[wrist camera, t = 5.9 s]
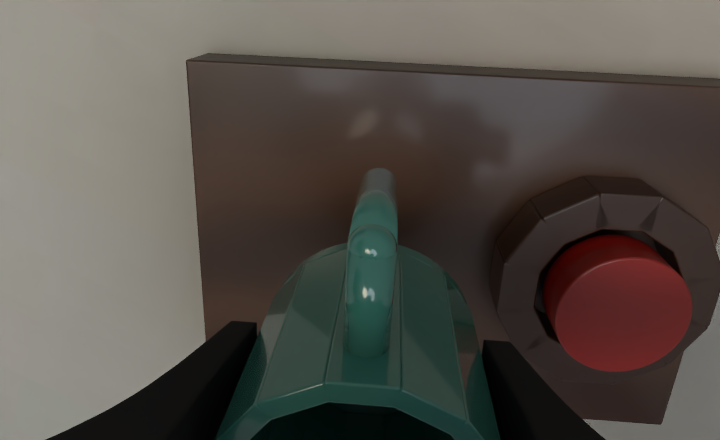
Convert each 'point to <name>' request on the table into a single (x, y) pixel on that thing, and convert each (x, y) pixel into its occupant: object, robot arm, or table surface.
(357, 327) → the coffee mug
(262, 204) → the stand
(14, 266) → the table surface
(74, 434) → the robot arm
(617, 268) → the button
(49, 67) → the table surface
